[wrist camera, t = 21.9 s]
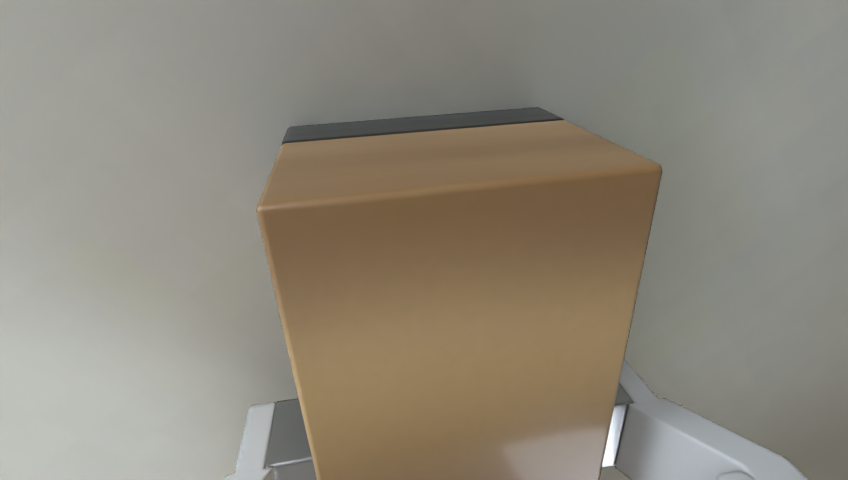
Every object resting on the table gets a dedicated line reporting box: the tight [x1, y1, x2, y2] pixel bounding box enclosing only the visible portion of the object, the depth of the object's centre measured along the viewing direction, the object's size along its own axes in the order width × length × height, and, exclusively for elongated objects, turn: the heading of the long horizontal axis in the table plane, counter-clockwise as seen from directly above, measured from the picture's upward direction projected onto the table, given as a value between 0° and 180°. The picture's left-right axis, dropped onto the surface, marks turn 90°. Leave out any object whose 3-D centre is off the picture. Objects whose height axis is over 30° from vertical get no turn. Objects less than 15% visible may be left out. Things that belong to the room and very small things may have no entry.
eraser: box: [257, 107, 662, 480], centre depth 10 cm, size 12×5×4 cm, turn 2°
